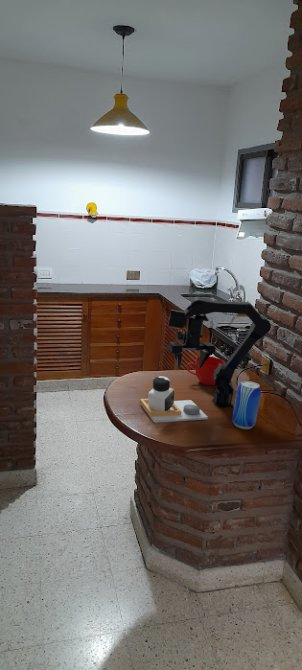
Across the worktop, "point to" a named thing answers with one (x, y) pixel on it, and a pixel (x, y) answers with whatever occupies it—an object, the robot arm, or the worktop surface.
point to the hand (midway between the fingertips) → (188, 368)
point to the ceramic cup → (206, 370)
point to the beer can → (246, 405)
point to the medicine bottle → (161, 395)
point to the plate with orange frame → (175, 412)
